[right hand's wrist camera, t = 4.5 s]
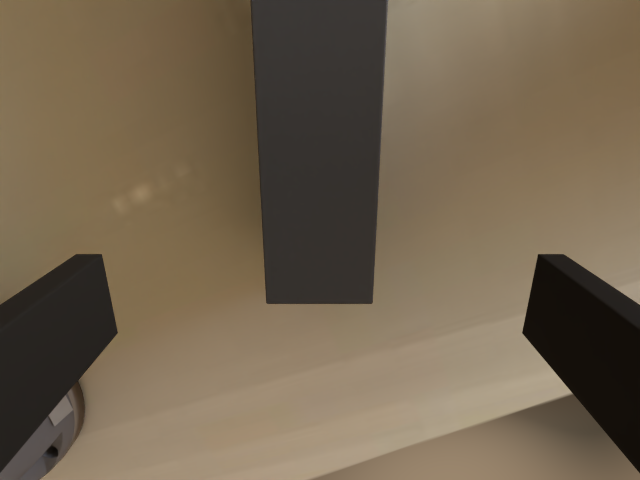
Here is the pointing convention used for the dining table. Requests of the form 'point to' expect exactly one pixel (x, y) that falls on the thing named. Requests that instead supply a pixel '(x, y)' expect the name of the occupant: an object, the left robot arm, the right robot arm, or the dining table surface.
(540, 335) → the right robot arm
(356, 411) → the dining table surface
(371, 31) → the beam
